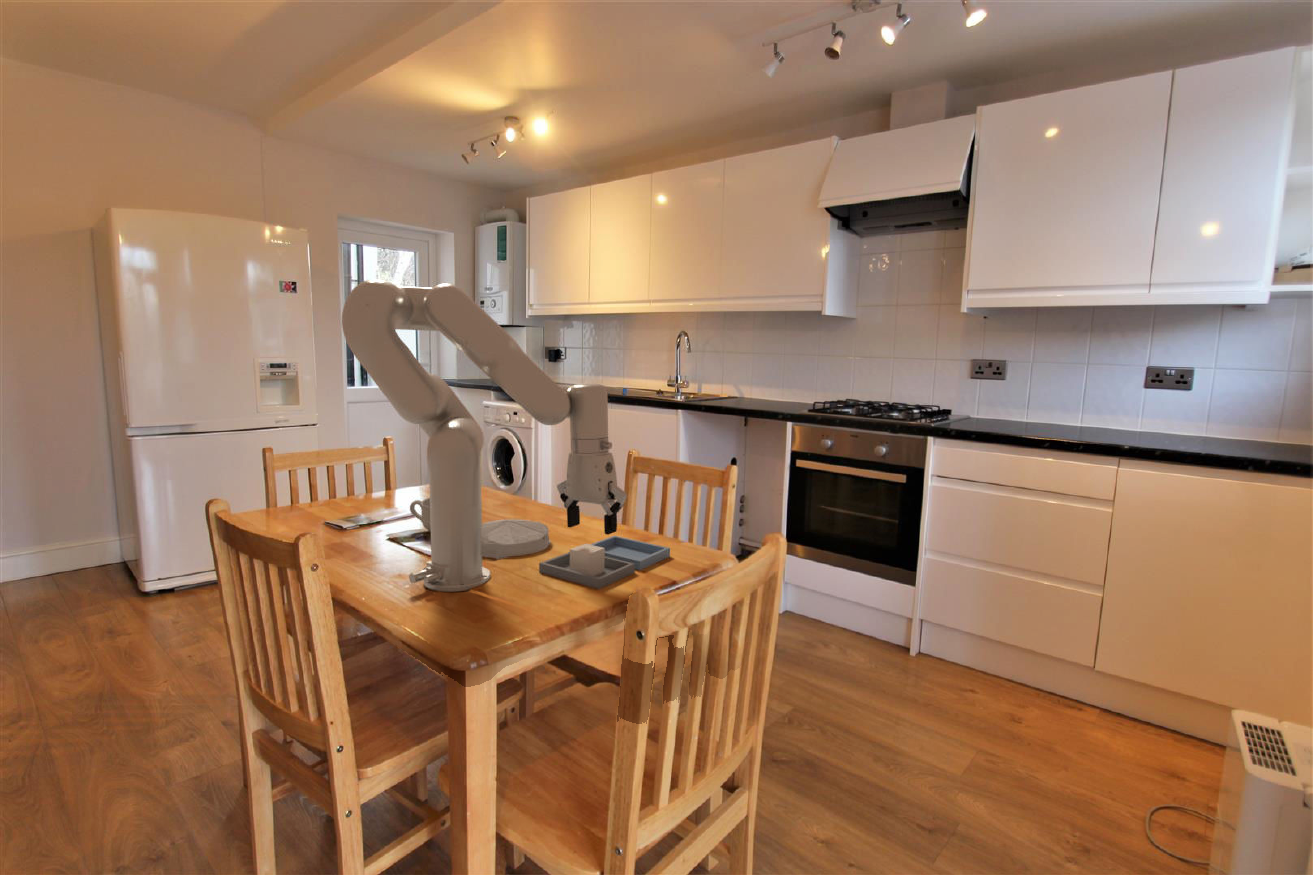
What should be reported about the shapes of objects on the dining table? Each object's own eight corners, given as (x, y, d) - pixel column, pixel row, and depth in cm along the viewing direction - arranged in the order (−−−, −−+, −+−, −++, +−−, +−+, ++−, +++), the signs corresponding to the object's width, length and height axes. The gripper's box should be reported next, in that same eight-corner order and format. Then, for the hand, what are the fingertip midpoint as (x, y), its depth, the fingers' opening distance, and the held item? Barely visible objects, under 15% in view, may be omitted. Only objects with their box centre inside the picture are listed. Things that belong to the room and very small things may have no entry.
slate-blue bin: (639, 572, 131) (640, 561, 131) (582, 558, 140) (582, 547, 140) (669, 558, 141) (670, 547, 141) (614, 545, 149) (614, 535, 149)
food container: (561, 538, 156) (561, 511, 156) (538, 563, 137) (538, 532, 136) (483, 535, 158) (483, 508, 158) (449, 558, 139) (449, 528, 138)
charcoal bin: (598, 592, 120) (599, 579, 120) (539, 574, 129) (539, 562, 128) (634, 575, 130) (634, 563, 129) (576, 560, 138) (576, 549, 138)
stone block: (588, 578, 126) (588, 554, 125) (569, 573, 128) (569, 549, 128) (604, 571, 130) (604, 548, 129) (585, 566, 133) (585, 543, 132)
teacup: (475, 528, 162) (474, 497, 161) (450, 539, 151) (449, 506, 150) (427, 522, 165) (427, 493, 164) (400, 533, 155) (399, 501, 154)
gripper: (635, 446, 124) (637, 531, 126) (569, 440, 134) (571, 519, 136) (612, 452, 118) (614, 540, 120) (544, 445, 127) (547, 527, 130)
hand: (591, 529), depth 128 cm, fingers open, 9 cm apart
